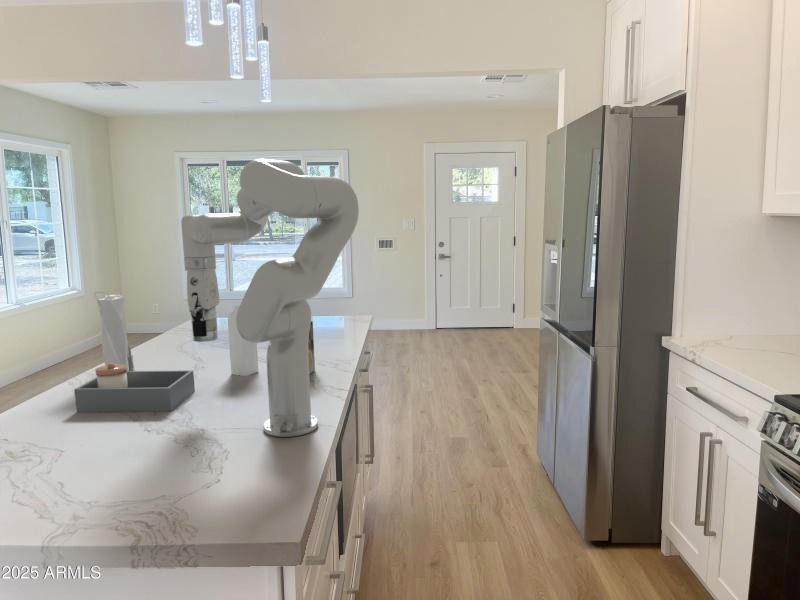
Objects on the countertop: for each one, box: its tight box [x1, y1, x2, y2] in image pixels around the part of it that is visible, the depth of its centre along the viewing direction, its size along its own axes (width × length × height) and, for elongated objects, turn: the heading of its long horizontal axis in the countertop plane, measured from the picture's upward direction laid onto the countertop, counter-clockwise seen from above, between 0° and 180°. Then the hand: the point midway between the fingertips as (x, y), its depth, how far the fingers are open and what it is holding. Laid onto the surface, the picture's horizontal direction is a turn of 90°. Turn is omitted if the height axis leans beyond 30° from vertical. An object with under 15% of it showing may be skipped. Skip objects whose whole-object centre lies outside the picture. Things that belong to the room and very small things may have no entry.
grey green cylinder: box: [191, 306, 219, 343], centre depth 147 cm, size 6×6×8 cm
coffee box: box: [308, 320, 316, 375], centre depth 176 cm, size 9×6×16 cm
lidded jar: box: [94, 363, 128, 388], centre depth 151 cm, size 7×7×10 cm
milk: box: [227, 303, 259, 377], centre depth 178 cm, size 6×6×22 cm
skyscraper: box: [93, 290, 136, 371], centre depth 170 cm, size 8×8×28 cm
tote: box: [74, 369, 196, 414], centre depth 151 cm, size 16×24×7 cm, turn 89°
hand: (205, 332), depth 147 cm, fingers closed on grey green cylinder, 6 cm apart
